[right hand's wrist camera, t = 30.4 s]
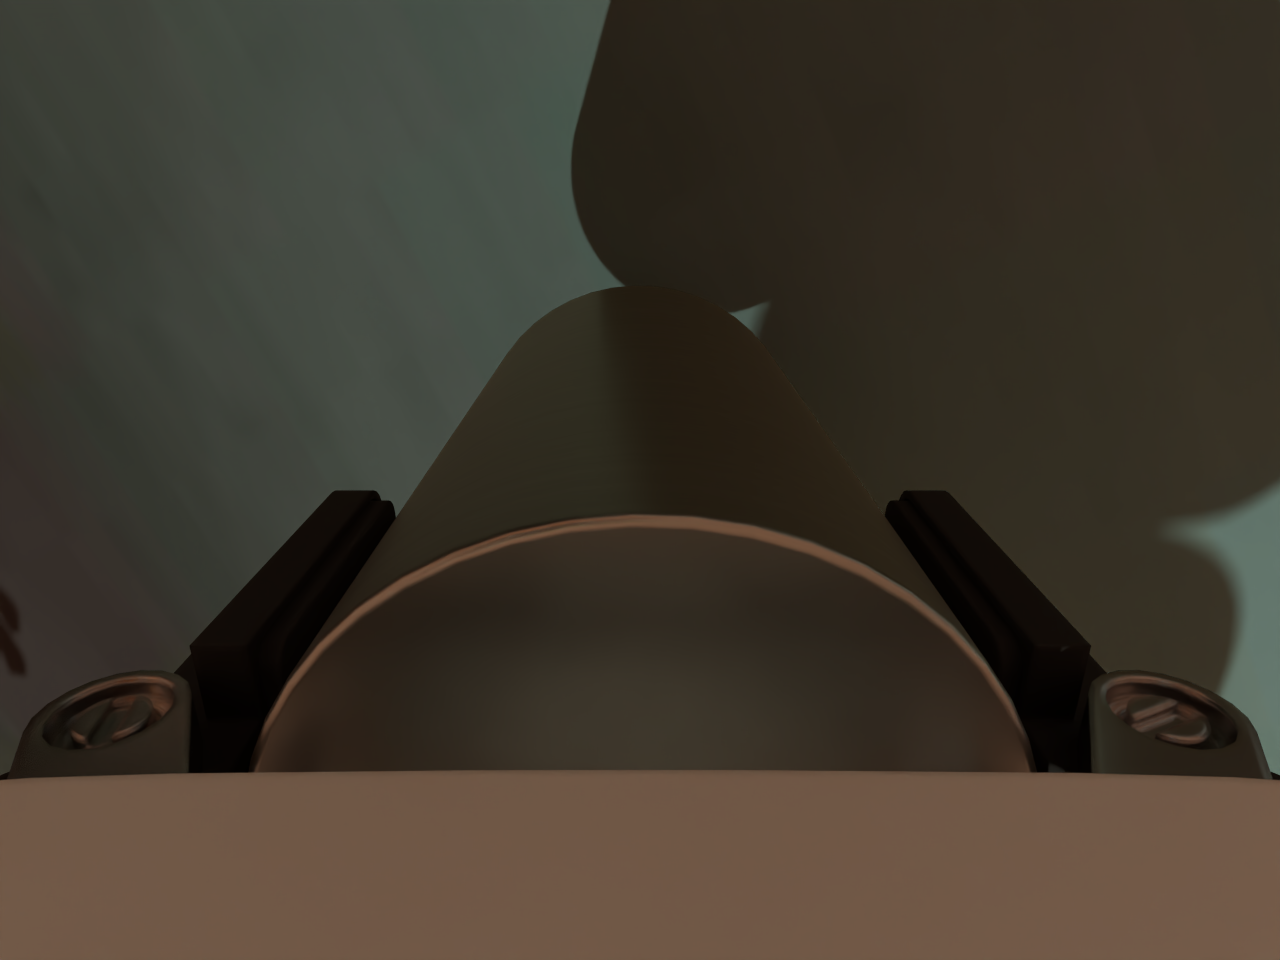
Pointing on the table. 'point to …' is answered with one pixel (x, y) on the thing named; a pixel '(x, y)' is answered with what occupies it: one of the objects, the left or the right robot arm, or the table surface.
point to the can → (641, 583)
